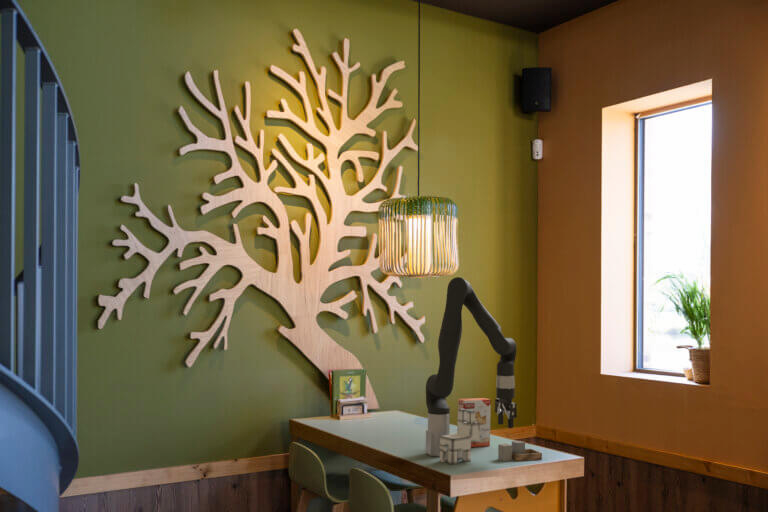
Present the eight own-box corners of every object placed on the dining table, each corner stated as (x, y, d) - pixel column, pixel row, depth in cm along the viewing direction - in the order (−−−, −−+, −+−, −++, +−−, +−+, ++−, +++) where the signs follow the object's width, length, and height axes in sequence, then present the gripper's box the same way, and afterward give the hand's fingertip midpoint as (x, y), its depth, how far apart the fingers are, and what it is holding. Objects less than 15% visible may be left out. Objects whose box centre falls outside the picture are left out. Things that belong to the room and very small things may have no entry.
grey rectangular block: (516, 457, 300) (516, 443, 301) (511, 455, 304) (511, 441, 304) (525, 457, 302) (525, 442, 302) (520, 455, 305) (520, 440, 306)
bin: (515, 461, 297) (515, 454, 298) (505, 456, 306) (505, 450, 306) (541, 459, 301) (541, 453, 301) (530, 454, 310) (530, 448, 310)
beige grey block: (504, 461, 297) (504, 446, 297) (498, 459, 301) (498, 444, 301) (512, 460, 299) (512, 445, 299) (506, 458, 303) (506, 443, 303)
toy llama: (435, 461, 294) (435, 411, 295) (466, 456, 305) (466, 408, 306) (447, 465, 288) (448, 414, 289) (479, 459, 299) (479, 410, 300)
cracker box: (462, 448, 321) (463, 400, 322) (456, 445, 326) (456, 398, 327) (490, 446, 326) (491, 399, 327) (484, 443, 331) (484, 397, 333)
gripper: (489, 384, 307) (489, 423, 306) (505, 389, 294) (505, 429, 293) (505, 384, 310) (505, 422, 309) (522, 388, 296) (522, 428, 295)
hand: (505, 426), depth 301 cm, fingers open, 8 cm apart
